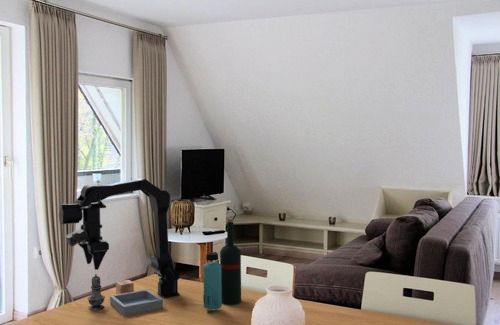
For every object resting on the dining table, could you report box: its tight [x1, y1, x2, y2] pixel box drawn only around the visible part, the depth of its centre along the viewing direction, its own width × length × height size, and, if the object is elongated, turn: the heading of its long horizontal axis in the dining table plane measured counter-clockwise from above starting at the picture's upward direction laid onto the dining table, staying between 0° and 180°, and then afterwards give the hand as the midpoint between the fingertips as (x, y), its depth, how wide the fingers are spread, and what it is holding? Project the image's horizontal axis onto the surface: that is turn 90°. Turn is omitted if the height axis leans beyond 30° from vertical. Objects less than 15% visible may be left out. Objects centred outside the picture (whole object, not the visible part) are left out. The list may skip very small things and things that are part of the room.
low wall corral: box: [109, 289, 164, 317], centre depth 185 cm, size 14×14×3 cm
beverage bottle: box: [202, 251, 223, 310], centre depth 179 cm, size 6×7×20 cm
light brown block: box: [115, 279, 135, 295], centre depth 197 cm, size 5×5×5 cm
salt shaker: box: [87, 273, 106, 311], centre depth 183 cm, size 6×6×12 cm
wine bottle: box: [219, 217, 242, 306], centre depth 190 cm, size 8×10×30 cm
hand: (92, 266), depth 182 cm, fingers open, 9 cm apart
